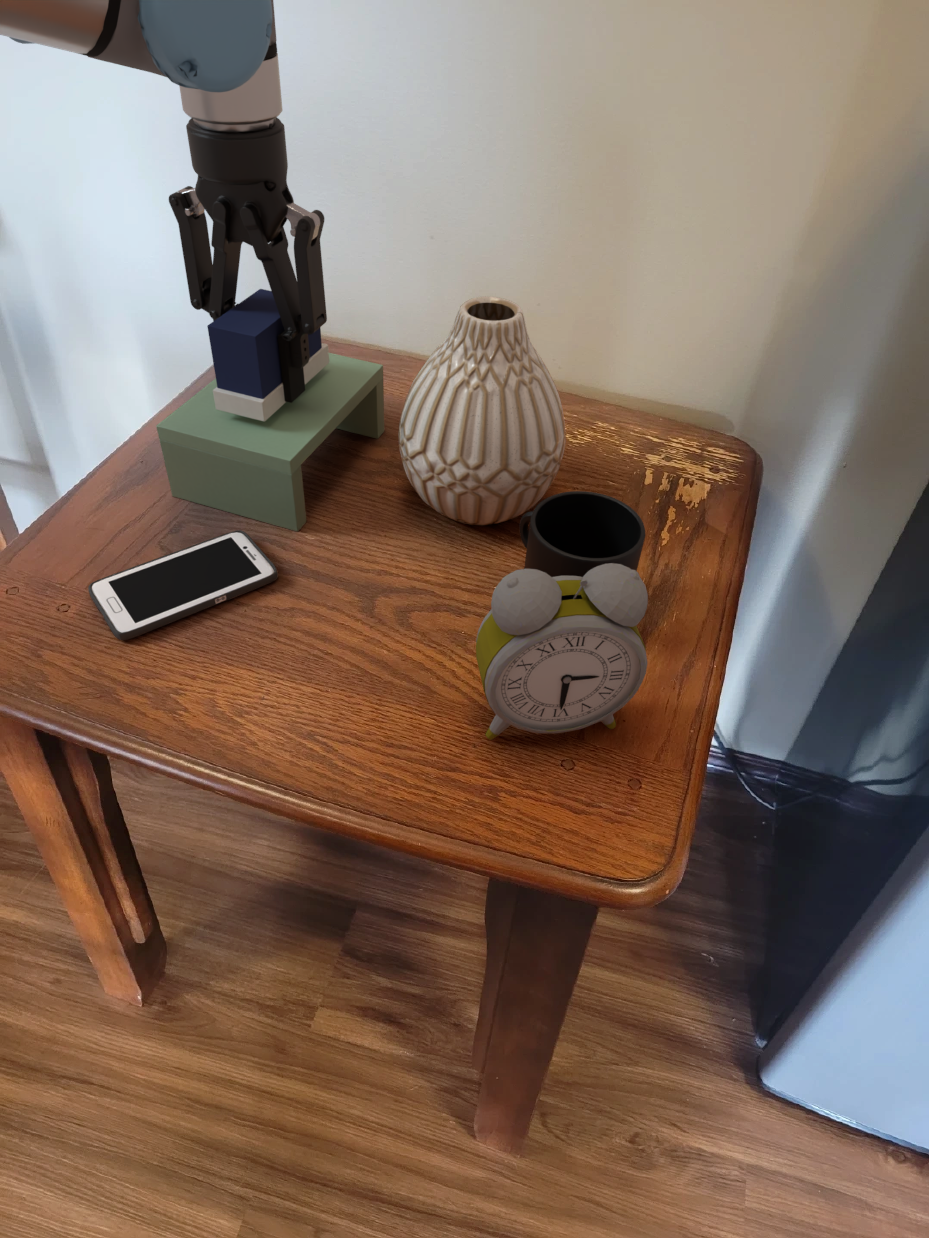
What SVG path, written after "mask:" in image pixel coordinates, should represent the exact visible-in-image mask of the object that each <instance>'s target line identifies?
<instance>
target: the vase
mask: <svg viewBox="0 0 929 1238" xmlns="http://www.w3.org/2000/svg"><path fill="white" fill-rule="evenodd" d="M417 372H418V373H417V374H416V376H415V378H414V379H413V381H412V383H411V385H410V387H409V389H408V392H407V395H406V397H405V399H404V403H403V407H402V410H401V413H400V414H401V415H400V418H399V423H398V424H399V425H398V431H397V434H398V449H399V454H400V460H401V463H402V464H401V465H402V467H403V470H404V472H405V475H406V478H407V479H408V481H409V483H410V484H411V486H412V488H413V489H414V491H415V492H416V493H417V495H418V496H419V498H420V499H421V500H422V501H423V502H424V503H425V504H427V505H428V506H429V507H430V508H432V509H433V510H434V511H435V512H437V513H439V514H440V515H442V516H444V517H446V518H448V519H451V520H453V521H454V522H458V523H461V524H466V525H471V526H490V525H496V524H499V523H500V524H501V523H503V522H506V521H509V520H513V519H515V518H517V517H519V516H521V515H522V514H525V513H527V512H528V511H529V510H530V509H532V508H533V507H534V506H535V505H536V504H538V502H540V500H541V499H542V498H543V497H544V496H545V494H546V493H547V492H548V491H549V489H550V488H551V486H552V484H553V482H554V481H555V479H556V477H557V475H558V473H559V469H560V468H561V465H562V461H563V458H564V453H565V449H566V436H567V435H566V434H567V433H566V432H567V431H566V422H565V415H564V409H563V405H562V399H561V398H560V394H559V391H558V389H557V385H556V383H555V380H554V379H553V377H552V375H551V373H550V371H549V369H548V367H547V366H546V364H545V362H544V360H543V359H542V357H541V355H540V354H539V352H538V351H537V349H536V348H535V347H534V344H533V343H532V341H531V340H530V336H529V333H528V328H527V324H526V320H525V315H524V311H523V308H522V307H521V306H520V305H519V304H517V303H516V302H514V301H512V300H510V299H507V298H503V297H499V296H491V295H490V296H489V295H487V296H486V295H485V296H476V297H473V298H469V299H467V300H465V301H464V302H462V303H461V304H460V306H459V308H458V310H457V313H456V316H455V319H454V321H453V324H452V326H451V328H450V331H449V332H448V334H447V335H446V337H445V338H444V340H443V341H442V342H441V343H440V344H439V345H438V346H437V347H436V349H434V351H433V352H432V353H431V354H430V356H429V357H428V358H427V360H426V361H425V362H424V363H423V365H422V366H421V368H420V369H419V371H417Z"/></svg>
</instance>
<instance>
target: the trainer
mask: <svg viewBox="0 0 929 1238" xmlns="http://www.w3.org/2000/svg"><path fill="white" fill-rule="evenodd" d="M237 304H238V305H236V304H235V305H236V306H235V307H233V308H232V309H231V310H229V311H228V312H226V313H225V314H223V315H222V316H220V317H219V318H218V319H216V320H215V321H213V320H212V322H210V323H209V324H208V325H207V334H208V339H209V345H210V350H211V356H212V363H213V369H214V375H215V378H216V382H217V387H216V388H215V389H214V390H213V395H214V401H215V407H216V409H217V410H221V411H225V412H228V413H232V414H236V415H240V416H244V417H248V418H252V419H256V420H260V421H266V420H267V419H268V418H269V417H270V416H271V415H272V414H274V413H275V412H276V411H277V410H278V409H279V408H280V407H281V406H282V405H283V404H284V403H286V401H285V398H284V389H283V381H282V372H281V363H280V354H279V344H278V335H280V334H281V333H282V332H283V331H284V327H283V324H282V321H281V318H280V315H279V312H278V309H277V306H276V303H275V300H274V297H273V294H272V291H271V290H269V289H263V288H259V289H258V290H256V291H255V292H253V293H252V294H251V295H249V296H248V297H246V298H244V299H243V300H242V301H241V302H239V303H237ZM308 342H309V354H310V359H309V362H308V363H307V364H306V365H305V366H304V367H303V370H304V381H305V384H306V383H307V382H309V381H310V380H311V379H312V378H313V377H314V376H315V375H316V374H317V373H318V372H319V371H321V370H322V369H323V368H324V367H325V366H326V365H327V364H328V363H329V353H330V351H329V350H330V349H329V343H323V342H322V331H321V327H320V328H319V329H318V330H316V331H315V332H314V333H313V334H311V335H309V334H308Z"/></svg>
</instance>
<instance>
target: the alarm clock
mask: <svg viewBox="0 0 929 1238" xmlns="http://www.w3.org/2000/svg"><path fill="white" fill-rule="evenodd" d="M490 601H491V602H490V607H491V609H490V610H489V611H488V612H487V614H486V615H485V616H484V618H483V620H482V622H481V624H480V625H479V628H478V629H477V634H476V640H475V657H476V662H477V667H478V671H479V676H480V680H481V684H482V685H481V686H482V689H483V693H484V696H485V699H486V701H487V703H488V704H489V707H490V709H491V710H492V711H493V713H494V714H495V715H494V717H493V719H492V721H491V722H490V725H489V726H488V728H487V730H486V732H485V737H486V738H487V739H488V740H490V741H493V740H494V739H496V738H497V737H498V736H500V735H501V734H502V733H503V732H504V731H506V730H507V728H509V727H511V726H513V727H515V728H517V729H518V730H522V731H526V732H529V733H535V734H560V733H561V734H562V733H567V732H574V731H578V730H582V729H585V728H587V727H591V726H593V725H595V724H598V723H600V722H601V723H602V724H603V725H604V726H605V727H606V728H607V729H609V730H613V729H615V728H616V726H617V723H616V718H615V716H614V714H615V713H617V712H618V711H620V710H621V709H622V708H623V707H625V706H626V705H627V704H628V703H629V702H630V701H631V700H632V699H633V698H634V697H635V695H636V694H637V693H638V691H639V689H640V688H641V686H642V683H643V681H644V679H645V677H646V674H647V668H648V656H647V650H646V645H645V642H644V641H643V640H644V639H643V638H642V636H641V633H640V631H639V629H638V624H639V623H640V622H641V621H642V619H643V618H644V617H645V615H646V611H647V609H648V604H649V594H648V590H647V587H646V584H645V582H644V581H643V579H642V578H641V576H640V574H639V572H638V570H637V571H636V570H631V569H630V568H629V567H626V566H624V565H621V564H614V563H608V564H603V565H600V566H597V567H595V568H593V569H591V570H589V571H588V572H587V573H586V574H585V575H584V576H583V577H579V576H556V577H551V576H549V575H548V574H547V573H545V572H542V571H540V570H537V569H524V568H521V569H516V570H514V571H512V572H510V573H508V574H507V575H505V576H503V577H502V578H501V580H500V581H499V582H498V584H497V585H496V586H495V587H494V590H493V592H492V596H491V600H490Z"/></svg>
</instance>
